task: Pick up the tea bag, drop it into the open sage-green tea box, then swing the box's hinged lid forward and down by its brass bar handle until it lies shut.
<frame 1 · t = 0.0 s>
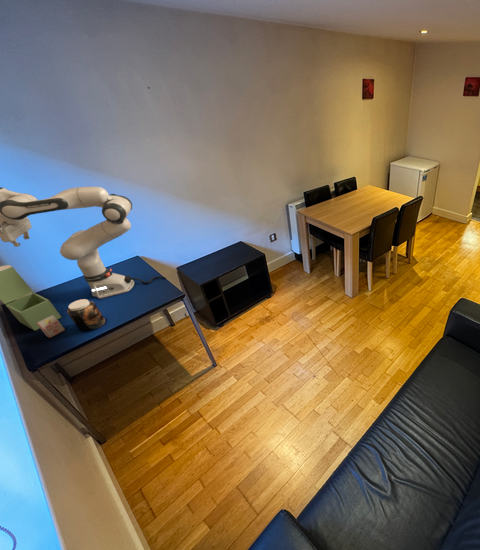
hand: (22, 242, 162), 39 cm above the table, tool pointing down, fingers open, 8 cm apart
lid: (7, 285, 158), point 21 cm above the table, hinge at 100.0°
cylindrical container: (29, 303, 178), on the table
tea box: (41, 319, 166), on the table
jar: (92, 324, 163), on the table
tea bag: (56, 333, 158), on the table
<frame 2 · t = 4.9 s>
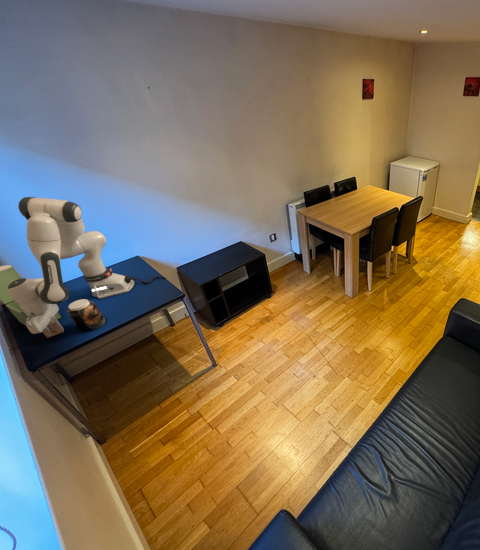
hand: (52, 327, 156), 4 cm above the table, tool pointing down, fingers closed on tea bag, 5 cm apart
tea bag: (55, 333, 158), on the table, touching gripper
everything else where it was.
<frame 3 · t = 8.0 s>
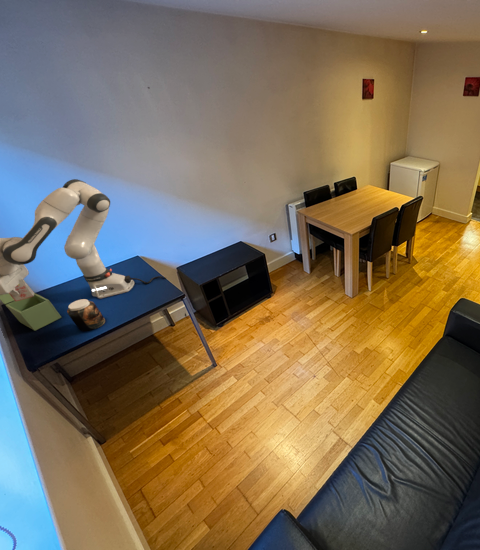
hand: (21, 291, 151), 23 cm above the table, tool pointing down, fingers closed on tea bag, 4 cm apart
tea bag: (25, 297, 153), point 19 cm above the table, touching gripper
everything else where it was.
when the fingers open (12 cm above the table, at t = 11.4 s): tea bag drops 8 cm, resting on tea box.
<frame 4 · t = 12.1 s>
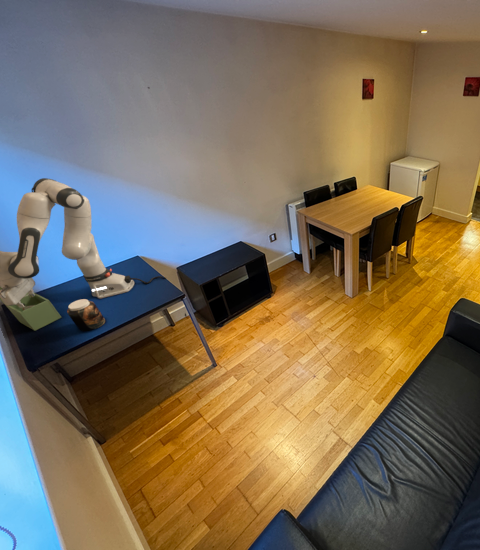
hand: (28, 301, 158), 14 cm above the table, tool pointing down, fingers open, 8 cm apart
tea bag: (41, 320, 165), point 1 cm above the table, touching tea box
everything else where it was.
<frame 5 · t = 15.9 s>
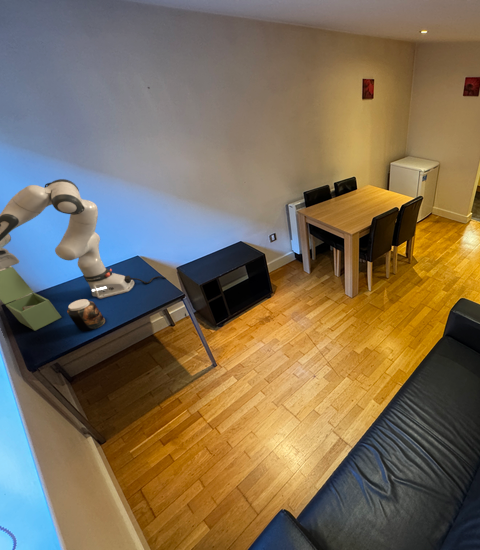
hand: (0, 277, 157), 25 cm above the table, tool pointing down, fingers closed on lid, 6 cm apart
lid: (7, 285, 158), point 21 cm above the table, hinge at 100.1°, touching gripper
everything else where it was.
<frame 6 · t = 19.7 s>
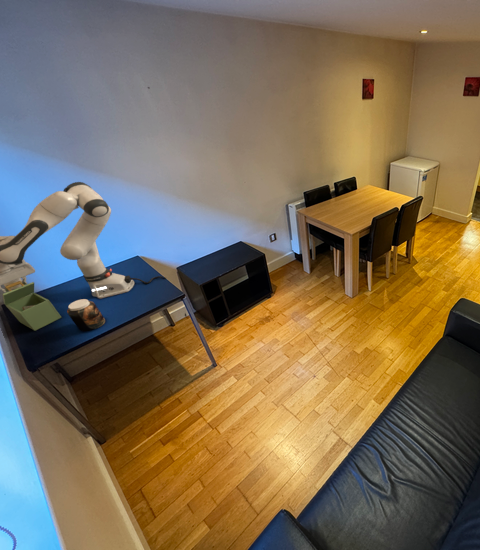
hand: (16, 287, 153), 23 cm above the table, tool pointing down, fingers closed on lid, 6 cm apart
lid: (16, 290, 156), point 20 cm above the table, hinge at 39.6°, touching gripper
everything else where it was.
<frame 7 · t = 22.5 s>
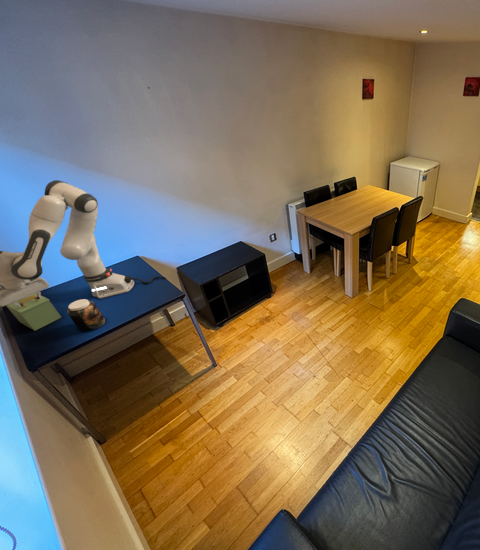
hand: (30, 302, 156), 14 cm above the table, tool pointing down, fingers closed on lid, 6 cm apart
lid: (24, 299, 158), point 15 cm above the table, hinge at -0.2°, touching gripper, tea box
everything else where it was.
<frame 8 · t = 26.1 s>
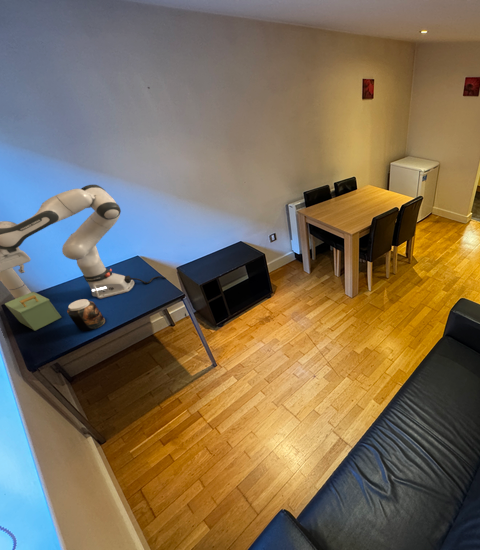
hand: (10, 277, 147), 31 cm above the table, tool pointing down, fingers open, 8 cm apart
lid: (24, 299, 158), point 15 cm above the table, hinge at -0.2°
everything else where it was.
at the end: tea bag 1.3 cm from the tea box (horizontally); tea bag point 0.6 cm above the table; lid at +0° (first picture: +100°) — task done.
